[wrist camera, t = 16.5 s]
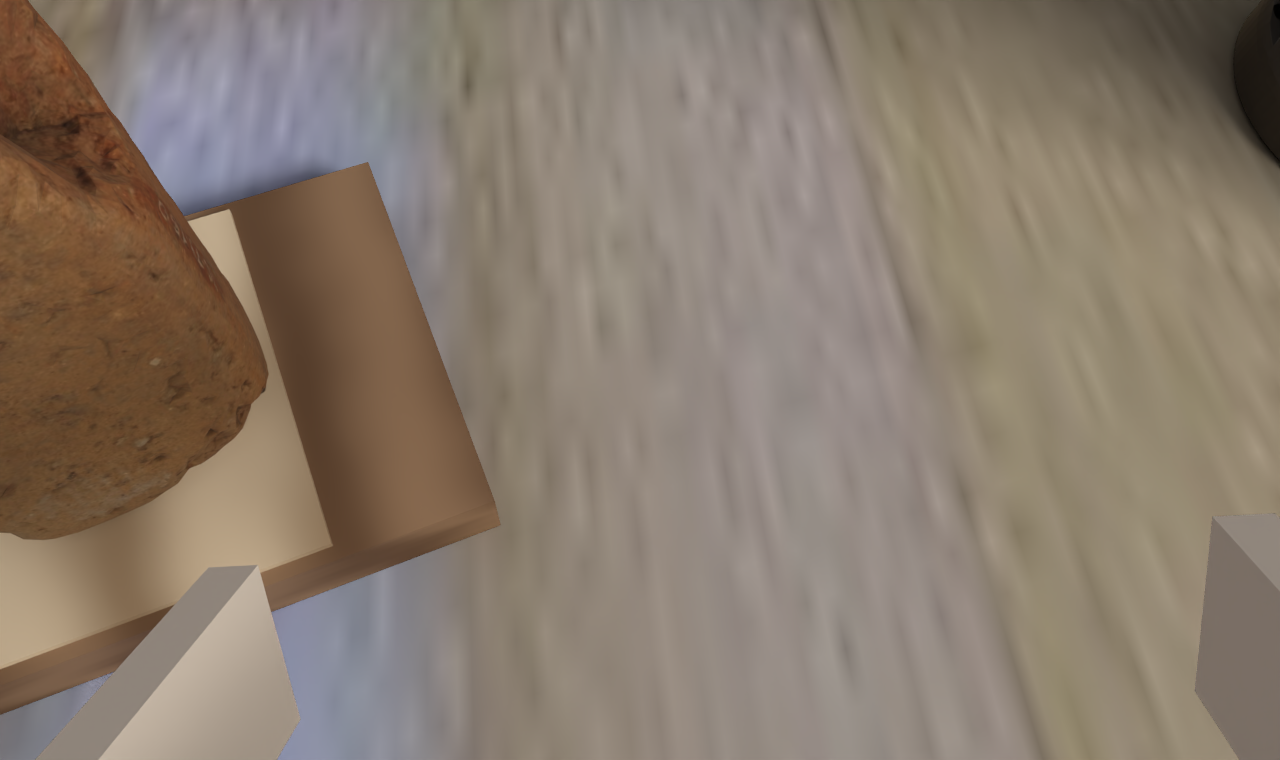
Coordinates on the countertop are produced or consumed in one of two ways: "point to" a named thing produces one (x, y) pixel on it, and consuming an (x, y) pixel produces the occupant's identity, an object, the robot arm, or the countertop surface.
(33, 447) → the catalogued terracotta fragment
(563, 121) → the countertop surface
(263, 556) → the plinth
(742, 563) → the countertop surface
